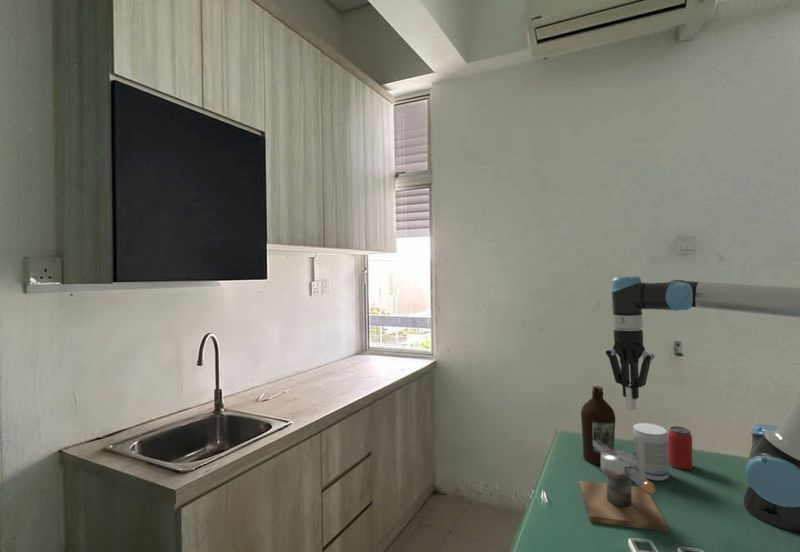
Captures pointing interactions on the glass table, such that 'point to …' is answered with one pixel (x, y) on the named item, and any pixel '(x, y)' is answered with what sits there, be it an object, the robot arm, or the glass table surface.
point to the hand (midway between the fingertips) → (631, 408)
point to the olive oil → (597, 425)
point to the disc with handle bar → (622, 466)
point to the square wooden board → (621, 504)
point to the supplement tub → (651, 451)
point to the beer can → (680, 447)
